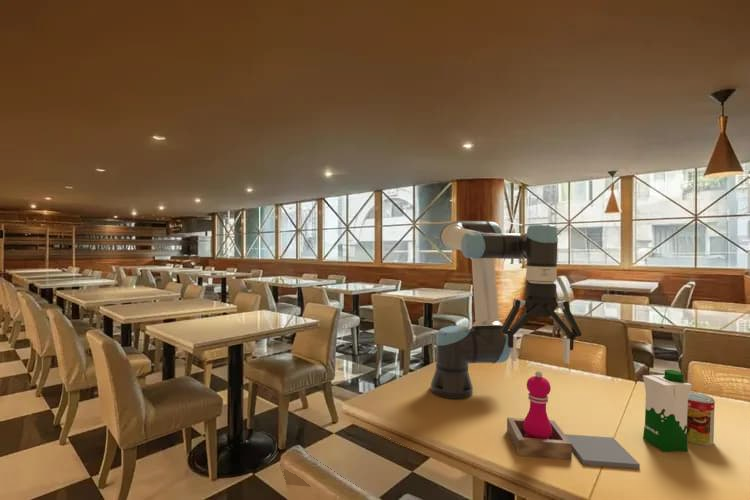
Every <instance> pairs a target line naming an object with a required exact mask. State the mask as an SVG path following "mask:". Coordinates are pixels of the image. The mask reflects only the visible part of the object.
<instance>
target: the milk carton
mask: <svg viewBox="0 0 750 500" xmlns="http://www.w3.org/2000/svg"><path fill="white" fill-rule="evenodd" d="M642 378H643V383H644V389H645V407H644V409H645V411H644V412H645V413H644V414H645V415H644V429H643V436H642V439H643V440H644V441H646V442H648V443H649V444H650V445H652V446H654V447H655V448H657V449H658V450H659V451H661V452H662V453H663V452H665V453H666V452H667V453H668V452H688V450H689V448H688V441H687V408H688V397H689V394H690V392H691V390H692V387H693V385H692V383H688V382H687V381H686V380H684V373H683V372H682V371H679V370H673V369H665V370H664V374H650V375H642Z"/></svg>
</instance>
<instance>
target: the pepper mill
mask: <svg viewBox="0 0 750 500" xmlns="http://www.w3.org/2000/svg"><path fill="white" fill-rule="evenodd" d="M551 387H552V386H551V384H550V382H549V380H548V379H546V377H543V372H542V371H540V370H537V371H535V373H534V375H533V376H531V377H529V378H528V379H527V382H526V389H527V390H528V392H529V393H528V397H527V398H528V400H529V409H528V412H527V414H526V416H525V418H524V419H525V420H524V424H523V429H524V431H525V432H526V435H524V438H536V439H549V438H551V437H550V436H551V435H552V427H551V423H550V421H549V420H550V418H549V416H548V414H547V403H549V396H548V395H549V394H550V392H551Z"/></svg>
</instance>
